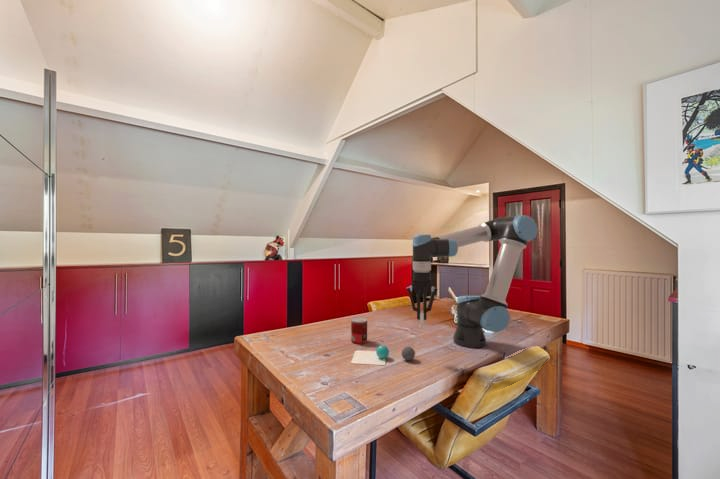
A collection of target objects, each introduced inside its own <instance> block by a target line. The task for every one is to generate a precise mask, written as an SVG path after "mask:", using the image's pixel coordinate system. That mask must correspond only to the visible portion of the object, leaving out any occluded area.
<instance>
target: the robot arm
mask: <svg viewBox="0 0 720 479" xmlns="http://www.w3.org/2000/svg"><path fill="white" fill-rule="evenodd" d="M537 236H538V226H537V224H536V221H535V219H533V218H532V217H531V216H529V215H525V214H524V215H523V214H521V215H520V214H519V215H518V214H517V215H511V216H500V217H497V218H494V219H491V220H487V221H484V222H481V223H479V224H478V225H477V226H474V227H470V228H466V229H462V230H458V231H454V232H450V233H446V234H443V235H439V236H436V237H432V236H431V234H414V235H413V237H412V244H411V245H412V281H411V285H410V286H407V287H406V291H407V293H408V294H409V295H408V296H409V299H410V303H411V308H412V310H413V311H414V312H416V319H417V321H419V329H425V325H424V324H425V322H424V321H427V313H428V312H431V311H432V308H433V303H434V300H435V296H436V293H437V292H438V288H437V287H436V286H433V283H432V272H431V271H432V258H435V257H436V258H441V257H442V258H445V257H446V258H450V257H455V256H456V255H457V254H458V251H459V248H461V247H465V246H468V245H472V244H476V243H480V242H484V243H488V242H493V241H498V242H499V243H500V247H499V251H498V253H497V256H496V259H495V263H494V265H493V267H492V268H493V269H492V272H491V275H490V278H489V282H488V284H487V287H486V290H485V293H483V294H481V295H460V296H458V297H457V300H456V322H457V323H456V328H455V330H454V334H453V338H452V339H453V340H452V341H453V343H454V344H456V345H459V346H461V347H465V348H470V349H473V348H474V349H477V348H478V349H480V348H483V347H484V348H485V347H486V345H487V338H486V335H485V333H484V330H486V331H488V332H491V333H498V332H502V331H504V330H505V329H506V328H507V326H508V325H509V323H510V319H511V315H510V312H509V310H508V303H507V301H506V299H507V297H508V296H507V295H508V292H509V290H510V288H511V287H510V286H511V284H512V280H513V277H514V274H515V271H516V268H517V265H518V262H519V258H520V255H521V253H522V251H523V250H524V249H526V248H527V246H528V244H529V242H531V241H533V240H535V238H536V237H537ZM413 291H414V292H415V293H416V304H415V301H414V297H413ZM429 291H430V292H431V294H430V297H429V300H427V299H428V298H427V297H428V296H427V295H428V293H429ZM421 295H422V310H421ZM427 302H428V305H427Z"/></svg>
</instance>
